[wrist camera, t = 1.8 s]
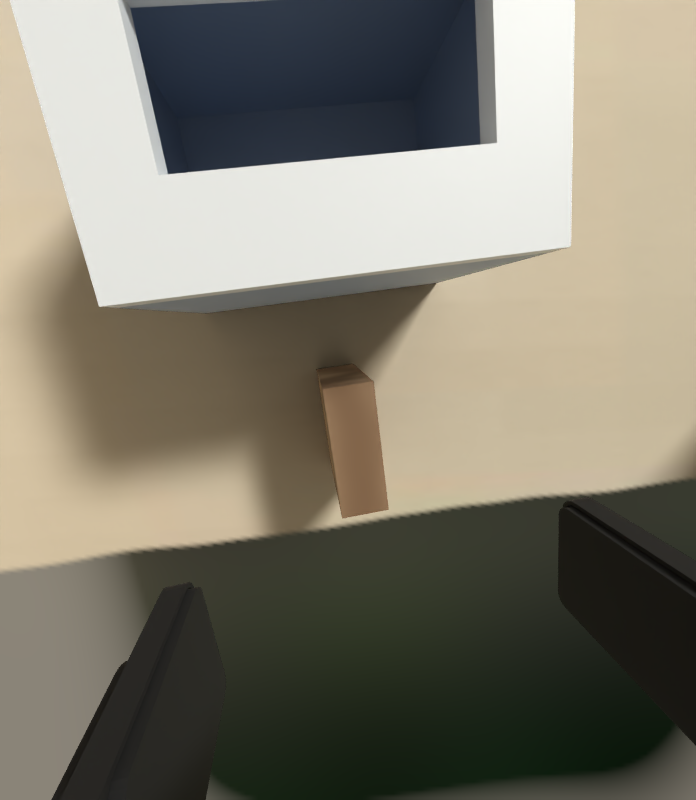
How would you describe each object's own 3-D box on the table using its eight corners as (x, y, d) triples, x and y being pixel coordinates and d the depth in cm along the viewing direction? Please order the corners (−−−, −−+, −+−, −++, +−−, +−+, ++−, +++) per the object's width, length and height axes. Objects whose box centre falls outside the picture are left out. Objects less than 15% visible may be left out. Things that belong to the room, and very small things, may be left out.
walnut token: (353, 363, 24) (373, 381, 17) (365, 459, 26) (388, 509, 19) (316, 369, 24) (322, 389, 17) (331, 465, 25) (342, 518, 19)
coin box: (423, 88, 21) (578, -204, 9) (437, 282, 23) (571, 246, 12) (160, 108, 19) (-51, -207, 8) (205, 313, 22) (99, 307, 10)
